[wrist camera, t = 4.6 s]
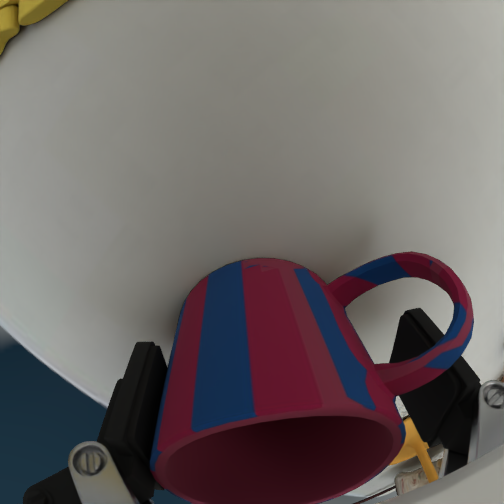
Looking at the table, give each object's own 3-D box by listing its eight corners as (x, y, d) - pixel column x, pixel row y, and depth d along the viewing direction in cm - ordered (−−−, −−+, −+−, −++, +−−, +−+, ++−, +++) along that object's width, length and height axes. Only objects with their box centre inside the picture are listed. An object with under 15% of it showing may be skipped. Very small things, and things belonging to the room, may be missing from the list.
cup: (146, 316, 12) (97, 458, 5) (359, 170, 10) (504, 232, 4) (242, 401, 14) (251, 522, 8) (417, 296, 12) (504, 396, 6)
